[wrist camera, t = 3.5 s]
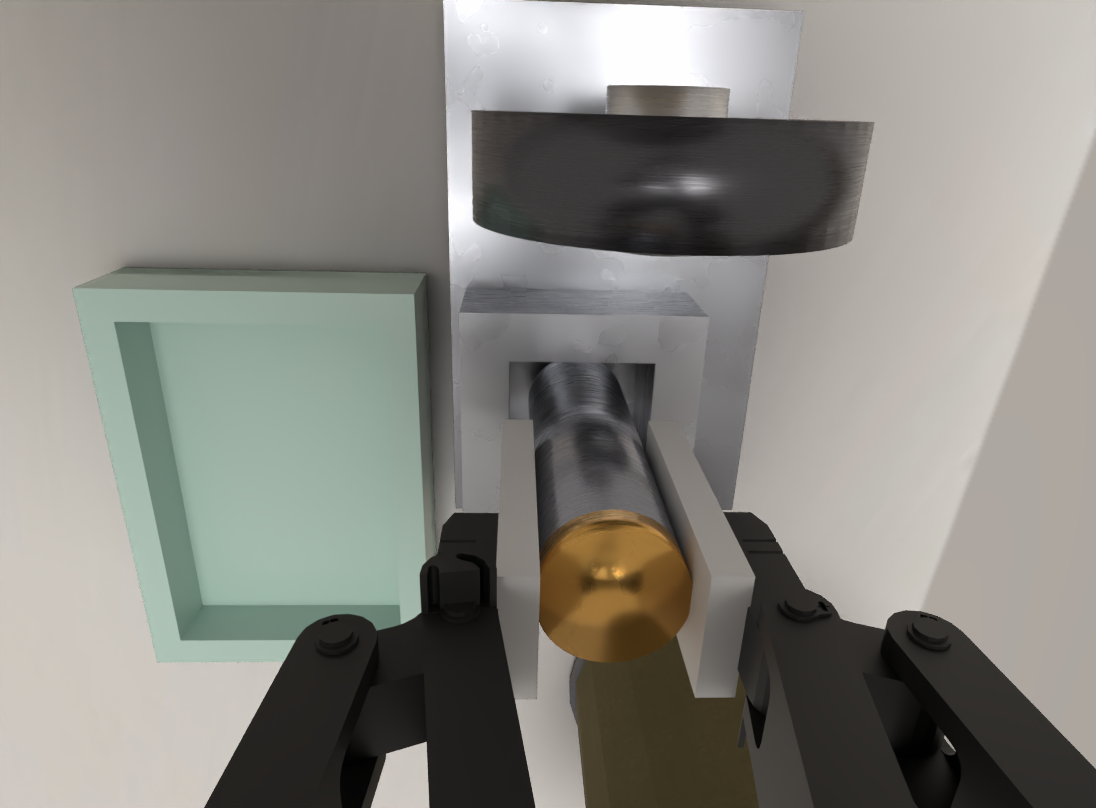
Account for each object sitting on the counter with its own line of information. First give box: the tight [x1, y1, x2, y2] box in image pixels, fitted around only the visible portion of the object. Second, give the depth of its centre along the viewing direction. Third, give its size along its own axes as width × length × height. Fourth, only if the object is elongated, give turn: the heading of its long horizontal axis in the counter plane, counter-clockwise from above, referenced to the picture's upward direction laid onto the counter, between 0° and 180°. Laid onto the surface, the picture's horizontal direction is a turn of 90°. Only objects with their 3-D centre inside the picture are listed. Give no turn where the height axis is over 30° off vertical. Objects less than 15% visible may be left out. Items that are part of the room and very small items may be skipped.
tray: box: [72, 267, 436, 662], centre depth 25 cm, size 14×10×3 cm
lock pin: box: [528, 362, 693, 663], centre depth 18 cm, size 3×3×10 cm
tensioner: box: [443, 0, 874, 513], centre depth 20 cm, size 16×10×11 cm, turn 178°
